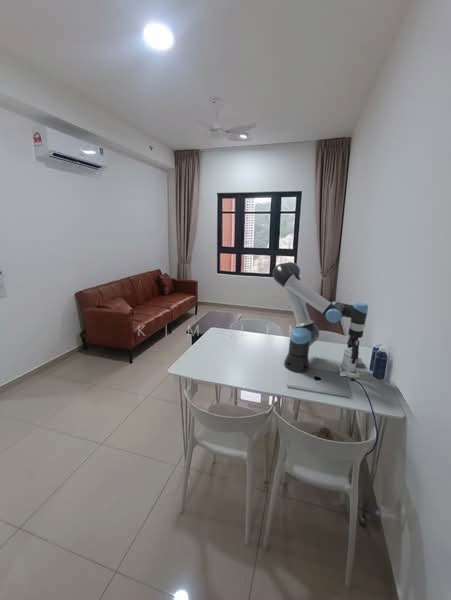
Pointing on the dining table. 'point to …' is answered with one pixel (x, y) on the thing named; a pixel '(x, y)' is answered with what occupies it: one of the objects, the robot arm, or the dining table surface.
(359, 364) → the grey box
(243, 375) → the dining table surface
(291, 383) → the dining table surface
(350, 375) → the white green flat box
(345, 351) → the syrup box
